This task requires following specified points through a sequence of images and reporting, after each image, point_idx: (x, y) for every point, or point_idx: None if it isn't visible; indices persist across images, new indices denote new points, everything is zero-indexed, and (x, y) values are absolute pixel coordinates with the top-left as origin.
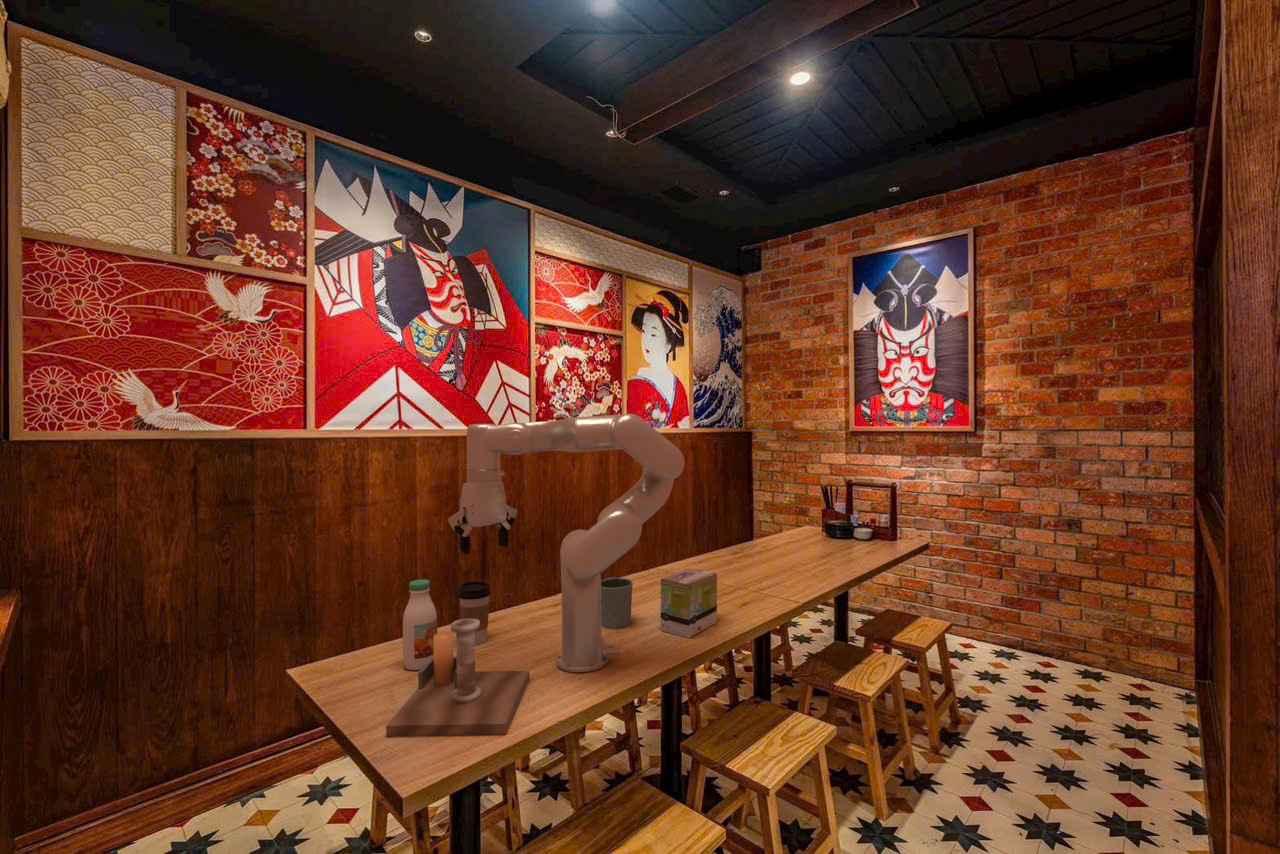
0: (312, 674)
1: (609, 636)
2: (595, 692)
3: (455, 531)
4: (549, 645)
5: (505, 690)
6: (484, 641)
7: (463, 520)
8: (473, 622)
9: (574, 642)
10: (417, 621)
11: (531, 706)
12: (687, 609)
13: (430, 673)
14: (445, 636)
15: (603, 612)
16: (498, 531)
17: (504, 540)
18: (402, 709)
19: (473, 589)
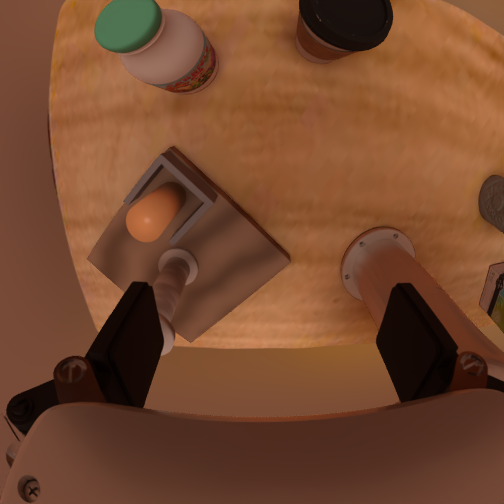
0: (70, 18)
1: (459, 225)
2: (319, 335)
3: (40, 394)
4: (395, 174)
5: (228, 287)
6: (328, 62)
7: (62, 432)
8: None
9: (364, 301)
10: (139, 79)
11: (245, 313)
12: (497, 323)
13: (155, 174)
14: (145, 233)
15: (493, 202)
16: (431, 344)
17: (387, 363)
18: (105, 236)
19: (345, 8)
